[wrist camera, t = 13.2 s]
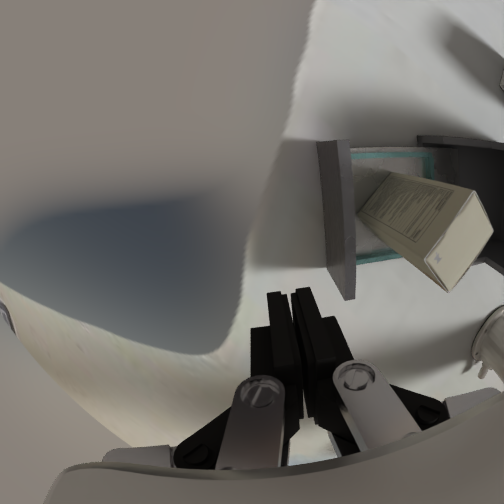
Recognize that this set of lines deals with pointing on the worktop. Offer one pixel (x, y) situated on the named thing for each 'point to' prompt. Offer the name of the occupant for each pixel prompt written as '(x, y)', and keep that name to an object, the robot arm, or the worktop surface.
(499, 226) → the housing
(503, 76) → the supplement box
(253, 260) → the worktop surface
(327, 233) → the tray
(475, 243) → the skincare box
